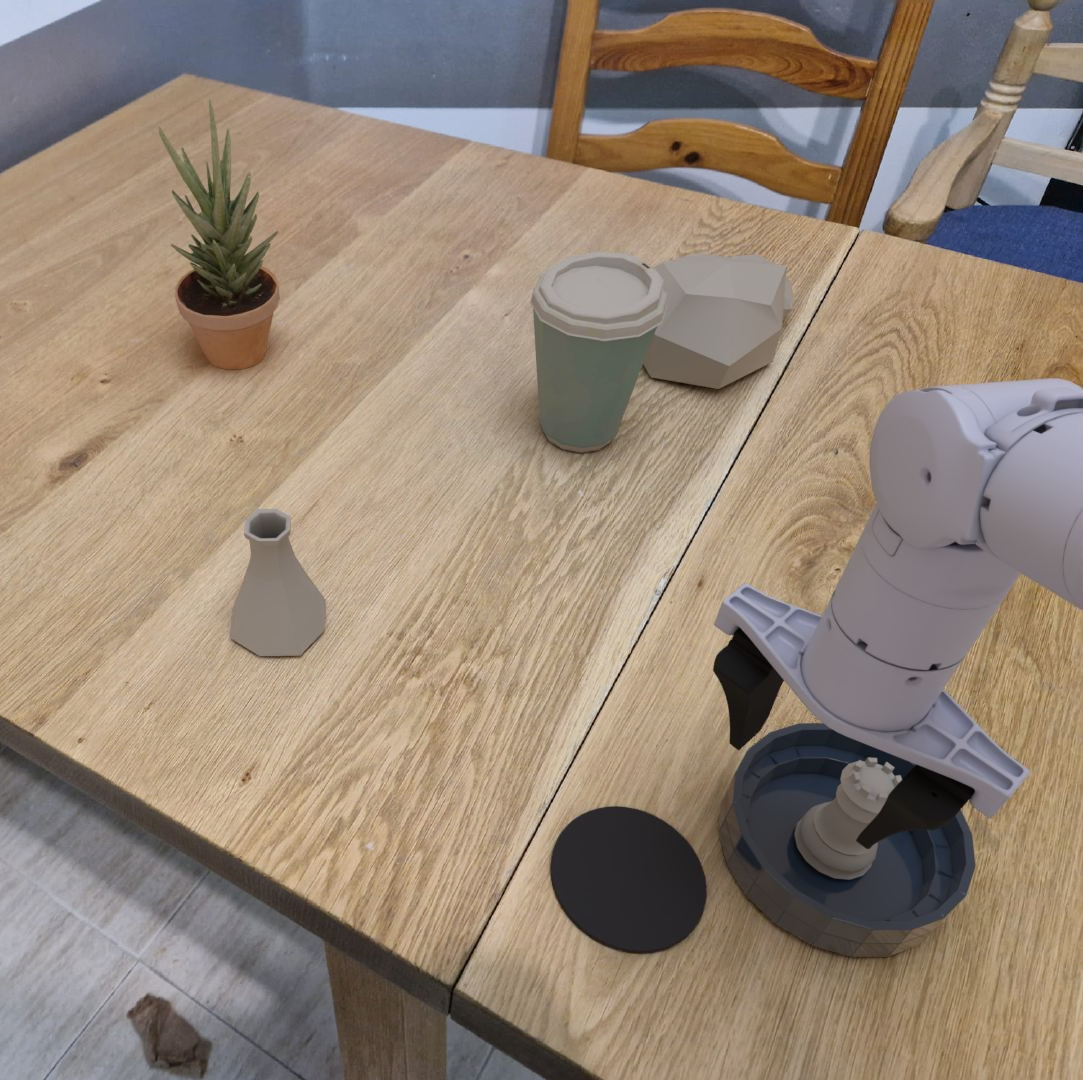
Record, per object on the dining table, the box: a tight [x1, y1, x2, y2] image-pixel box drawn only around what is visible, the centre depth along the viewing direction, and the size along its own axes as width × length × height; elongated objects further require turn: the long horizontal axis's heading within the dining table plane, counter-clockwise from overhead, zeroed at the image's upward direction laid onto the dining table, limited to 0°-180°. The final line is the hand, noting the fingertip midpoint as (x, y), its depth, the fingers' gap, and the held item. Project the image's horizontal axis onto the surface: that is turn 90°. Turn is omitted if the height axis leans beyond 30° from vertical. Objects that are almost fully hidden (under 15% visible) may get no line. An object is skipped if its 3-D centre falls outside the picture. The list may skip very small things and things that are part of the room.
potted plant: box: [156, 98, 281, 370], centre depth 89 cm, size 10×10×25 cm
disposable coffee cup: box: [529, 250, 667, 454], centre depth 83 cm, size 11×11×15 cm
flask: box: [229, 508, 327, 657], centre depth 70 cm, size 7×7×10 cm
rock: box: [642, 252, 794, 390], centre depth 94 cm, size 18×20×10 cm
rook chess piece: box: [794, 757, 902, 880], centre depth 57 cm, size 4×4×8 cm
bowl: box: [718, 722, 977, 958], centre depth 59 cm, size 13×13×4 cm
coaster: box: [550, 805, 707, 954], centre depth 59 cm, size 9×9×1 cm
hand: (805, 783), depth 53 cm, fingers open, 7 cm apart
